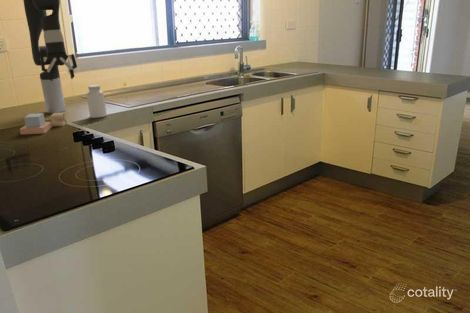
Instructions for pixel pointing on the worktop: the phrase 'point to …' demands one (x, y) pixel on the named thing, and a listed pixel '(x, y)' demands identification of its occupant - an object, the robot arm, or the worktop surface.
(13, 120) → the worktop surface
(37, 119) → the blue block
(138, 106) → the worktop surface
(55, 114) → the oak block
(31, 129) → the tile base
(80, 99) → the worktop surface
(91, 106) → the pill bottle
